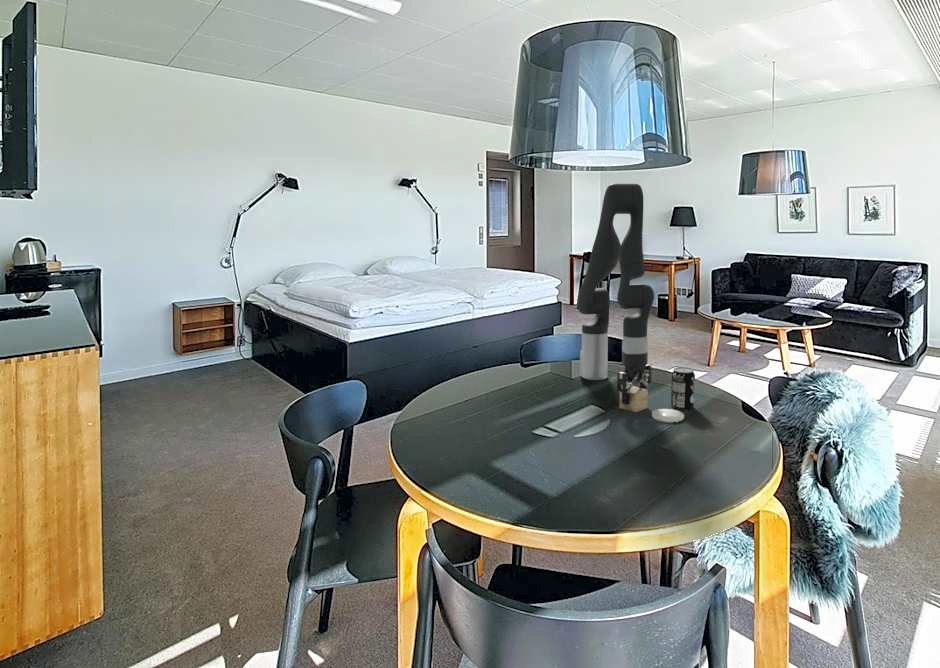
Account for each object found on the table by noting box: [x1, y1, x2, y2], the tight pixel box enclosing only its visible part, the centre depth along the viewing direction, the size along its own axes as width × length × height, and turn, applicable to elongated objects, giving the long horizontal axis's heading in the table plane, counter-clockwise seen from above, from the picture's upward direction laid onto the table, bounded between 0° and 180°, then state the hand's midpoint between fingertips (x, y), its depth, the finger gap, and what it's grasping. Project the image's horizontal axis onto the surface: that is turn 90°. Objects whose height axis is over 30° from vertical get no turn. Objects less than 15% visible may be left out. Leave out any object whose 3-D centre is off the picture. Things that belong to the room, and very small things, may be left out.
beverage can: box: [670, 366, 696, 410], centre depth 170 cm, size 7×7×12 cm
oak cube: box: [618, 385, 649, 413], centre depth 172 cm, size 6×6×6 cm
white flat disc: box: [651, 408, 685, 424], centre depth 163 cm, size 9×9×1 cm
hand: (634, 400), depth 172 cm, fingers open, 8 cm apart
